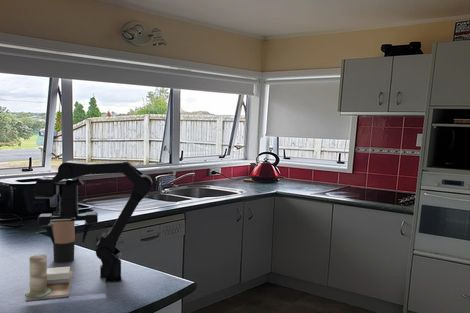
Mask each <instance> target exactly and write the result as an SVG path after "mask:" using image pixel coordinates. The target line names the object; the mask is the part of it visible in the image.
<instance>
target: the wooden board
mask: <svg viewBox="0 0 470 313" xmlns="http://www.w3.org/2000/svg"><path fill="white" fill-rule="evenodd" d="M73 274H74V269H70V280H69V283H64V284H52V285H47V292H45V293H43V294H39V295H32V294H30V288H29V289H28V290H26V291H25V296H26V297H25V299H28V300H25V303H29V302H31V303H32V302H42V301H50V300H52V301H53V300H63V299H70V296H66V295H70V289H71V284H72V279H73ZM53 296H54V297H53ZM57 296H58V297H57ZM44 297H46V298H44ZM33 298H36V299H33Z"/></svg>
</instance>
